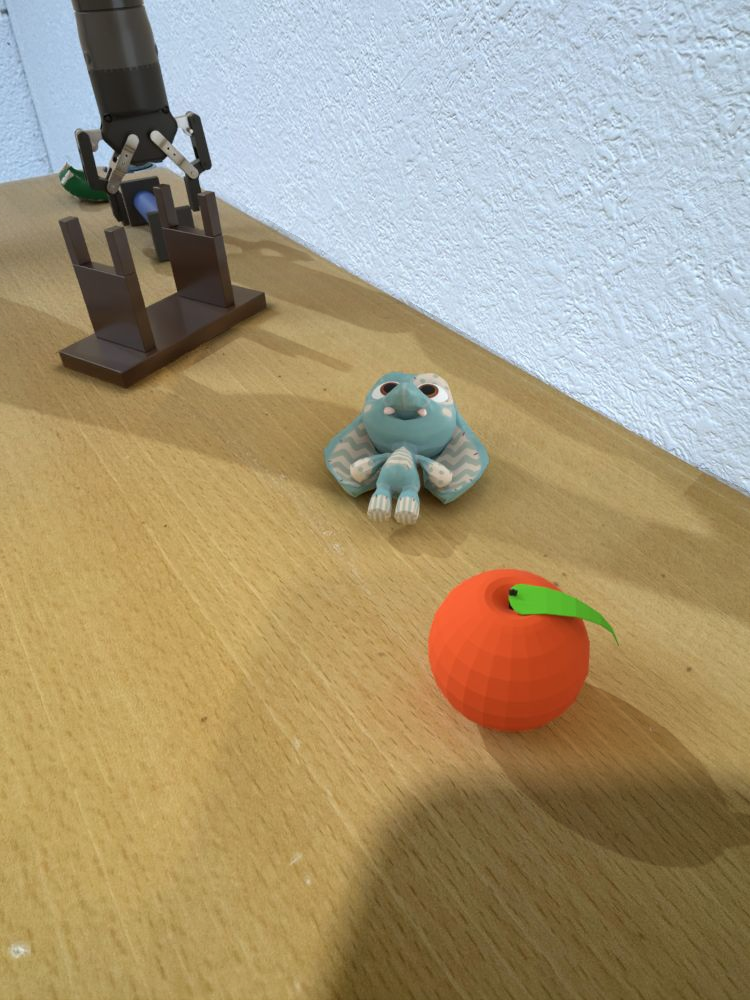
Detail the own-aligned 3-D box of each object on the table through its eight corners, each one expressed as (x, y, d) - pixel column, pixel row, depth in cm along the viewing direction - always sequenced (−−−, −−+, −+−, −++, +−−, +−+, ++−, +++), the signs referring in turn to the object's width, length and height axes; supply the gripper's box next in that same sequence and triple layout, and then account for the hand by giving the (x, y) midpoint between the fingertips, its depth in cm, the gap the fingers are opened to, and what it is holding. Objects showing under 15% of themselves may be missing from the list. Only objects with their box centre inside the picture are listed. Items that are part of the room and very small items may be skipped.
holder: (126, 388, 57) (82, 247, 49) (63, 366, 60) (14, 231, 53) (267, 306, 68) (248, 182, 61) (207, 292, 72) (183, 172, 64)
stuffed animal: (290, 465, 38) (333, 332, 46) (309, 543, 44) (345, 412, 51) (488, 479, 36) (498, 337, 44) (482, 558, 42) (492, 420, 49)
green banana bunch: (92, 200, 106) (54, 175, 102) (105, 179, 105) (67, 153, 101) (99, 217, 99) (58, 191, 95) (113, 194, 98) (72, 167, 94)
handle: (129, 224, 90) (118, 181, 87) (166, 217, 92) (156, 175, 89) (159, 262, 79) (147, 215, 76) (200, 253, 81) (190, 207, 77)
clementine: (596, 647, 34) (622, 541, 30) (608, 777, 29) (642, 673, 25) (434, 631, 36) (436, 527, 31) (419, 753, 30) (418, 649, 26)
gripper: (178, 49, 79) (208, 198, 89) (48, 65, 74) (95, 221, 84) (197, 55, 73) (226, 213, 84) (57, 72, 69) (107, 238, 79)
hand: (160, 217), depth 84 cm, fingers open, 8 cm apart
